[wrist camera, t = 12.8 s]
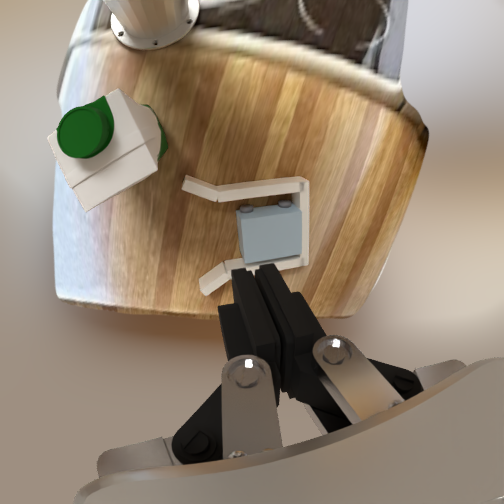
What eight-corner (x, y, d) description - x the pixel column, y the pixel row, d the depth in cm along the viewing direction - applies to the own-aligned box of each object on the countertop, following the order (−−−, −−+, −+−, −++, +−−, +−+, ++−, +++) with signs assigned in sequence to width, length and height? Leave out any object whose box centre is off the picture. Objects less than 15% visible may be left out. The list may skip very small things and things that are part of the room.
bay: (180, 175, 38) (180, 180, 35) (299, 161, 41) (308, 165, 38) (200, 285, 47) (201, 297, 44) (300, 267, 50) (308, 277, 47)
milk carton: (151, 96, 32) (116, 74, 15) (177, 151, 37) (167, 179, 19) (97, 127, 32) (26, 139, 15) (124, 179, 37) (76, 232, 19)
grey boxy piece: (235, 205, 43) (240, 215, 39) (291, 198, 44) (301, 206, 40) (240, 254, 47) (245, 267, 43) (292, 245, 48) (301, 257, 44)
